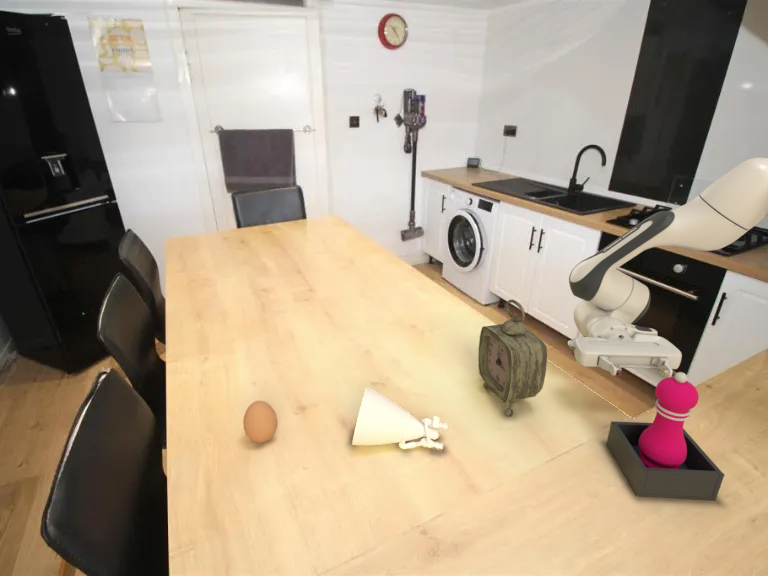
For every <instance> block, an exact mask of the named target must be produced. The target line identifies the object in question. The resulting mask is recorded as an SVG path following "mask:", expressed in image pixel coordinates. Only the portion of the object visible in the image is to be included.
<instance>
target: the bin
mask: <svg viewBox="0 0 768 576" xmlns="http://www.w3.org/2000/svg"><path fill="white" fill-rule="evenodd" d="M652 423H653V422H635V421H634V422H633V421H615V420H614V421H610V425H609V430H608V435H607V439H606V446H607V448H608V450H609V452H610V453H611V455H612V456H613V458H614V460H615V461H616V463H617V465H618V467H619V469H620V470H621V473H623V475H624V477H625V479H626V480H627V483H628V484H629V485H630V488H631V489H632V491H633V493H634V494H635V495H636V497H645V498H646V497H647V498H662V499H679V500H680V499H682V500H696V501H697V500H698V501H699V500H700V501H717V497H718V494H719V492H720V488H721V487H722V483H723V479H724V477H725V474H724V472H722V470H721V469H720V468H719V467H718V466H717V464H715V462H714V461H713V460H712V459H711V458H710V456H708V455H707V453H706V452H705V451H704V450H703V449H702V448H701V447H700V446H699V445H698V443H697V442H696V441H695V440H694V439H693V438H692V436H691V435H690V434H689V433H688V432H687V431H686V429H684V428H683V435H684V439H685V442H686V447H687V455H686V460H685V461H684V463H682V464H680V465H679V469H665V468H646V467H645V465H644V464H643V462H642V461H641V459H640V458H639V456H638V454H639V451H640V448H639V445H638V441H639V438H640V435H641V434H642V433H643V431H644V430H645V429H646V428H647V427H649V426H650V425H651V424H652Z"/></svg>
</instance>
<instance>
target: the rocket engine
mask: <svg viewBox="0 0 768 576" xmlns="http://www.w3.org/2000/svg"><path fill="white" fill-rule="evenodd" d="M420 421H421V422H420ZM439 428H440V429H439ZM437 429H438V430H437ZM439 430H443V432H446V431H448V430H449V423H446V422H443V421H440V417H439V416H436V415H433V417H432V418H429V417H424V418H421V420H419V419H418V418H416V417H415V416H414V415H413V414H411V412H410V411H409V410H406V409H405V408H403V407H401V406H400V405H398V404H397V403H396V402H394V401H393V400H391V399H390V398H388V397H386V396H385V395H383V394H381V393H379V392H378V391H377V390H374V389H372V388H370V387H368V386H366V387H365V389H364V392H363V395H362V399H361V403H360V407H359V411H358V414H357V419H356V423H355V427H354V432H353V436H352V441H351V445H352V446H381V445H390V444H397V443H398V447H399V448H400V449H402V450H409V449H414V448H416V447H423V448H428V449H433V451H435V450H438V451H443V449H444V443H442V442H441V443H440V441H435V440H437V439H439V438H440V433H439ZM420 438H421V439H420ZM418 439H420V441H419V440H418ZM414 440H418V441H414ZM408 441H409V442H408ZM406 442H407V443H406Z"/></svg>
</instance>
